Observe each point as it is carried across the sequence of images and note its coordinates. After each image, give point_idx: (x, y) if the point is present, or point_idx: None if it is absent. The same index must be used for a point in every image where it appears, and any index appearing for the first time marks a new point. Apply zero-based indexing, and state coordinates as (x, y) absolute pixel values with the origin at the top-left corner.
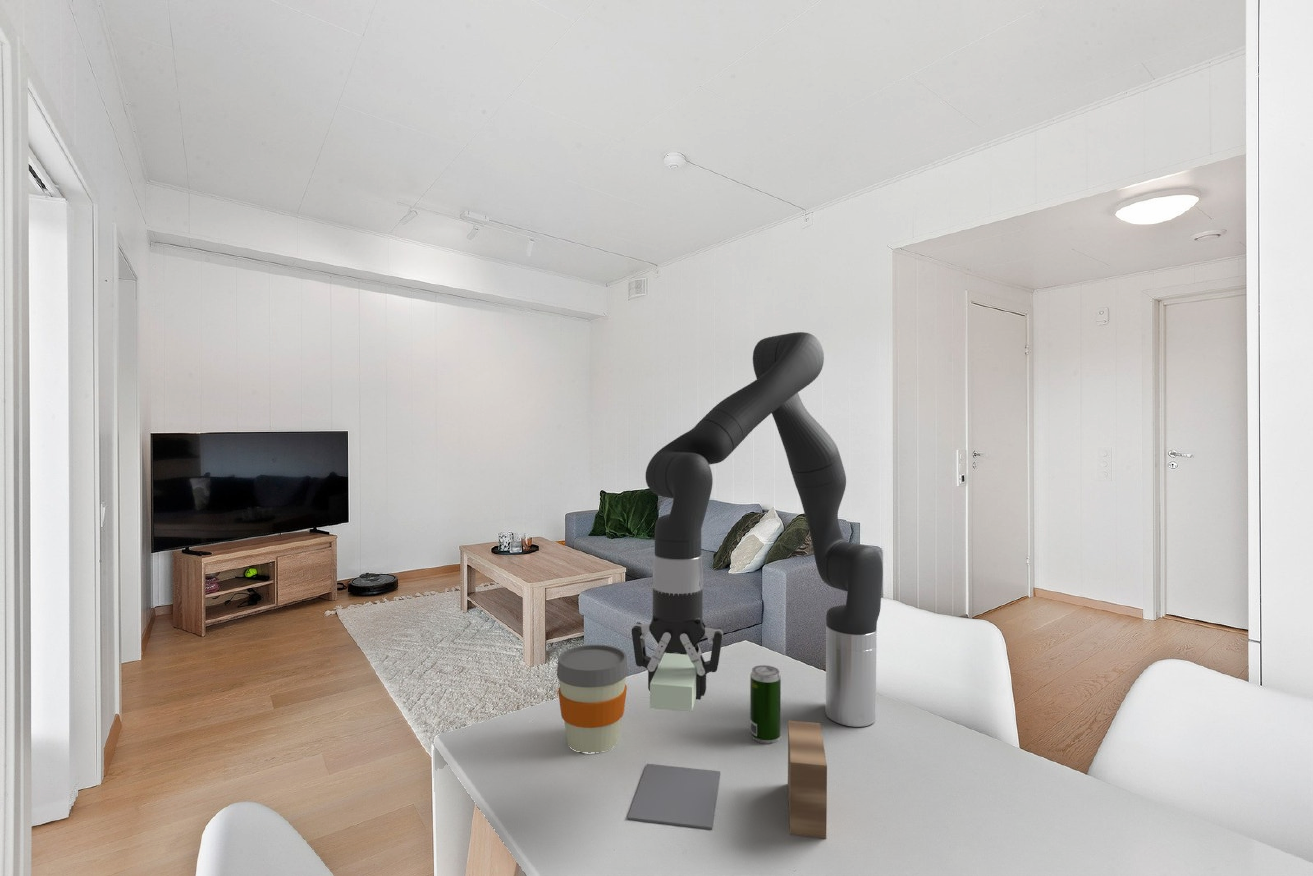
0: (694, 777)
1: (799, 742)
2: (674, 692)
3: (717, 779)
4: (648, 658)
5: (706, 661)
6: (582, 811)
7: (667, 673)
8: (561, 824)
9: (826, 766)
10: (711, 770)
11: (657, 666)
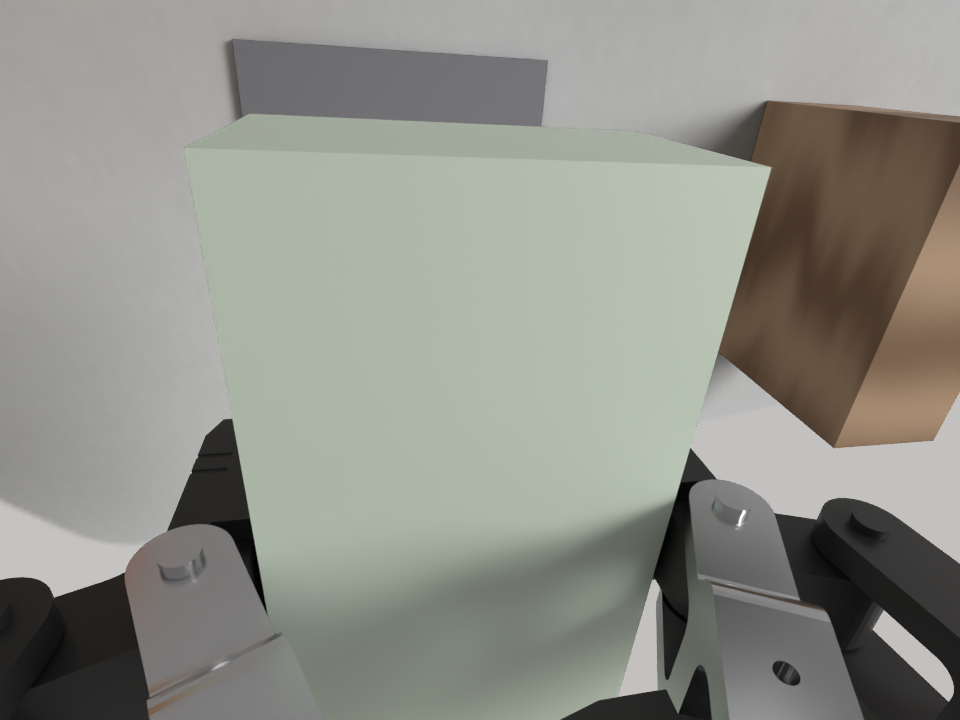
0: (451, 122)
1: (923, 319)
2: None
3: (536, 124)
4: (116, 696)
5: (795, 574)
6: (118, 363)
7: (398, 668)
8: (89, 425)
9: (929, 439)
10: (514, 60)
11: (251, 570)
